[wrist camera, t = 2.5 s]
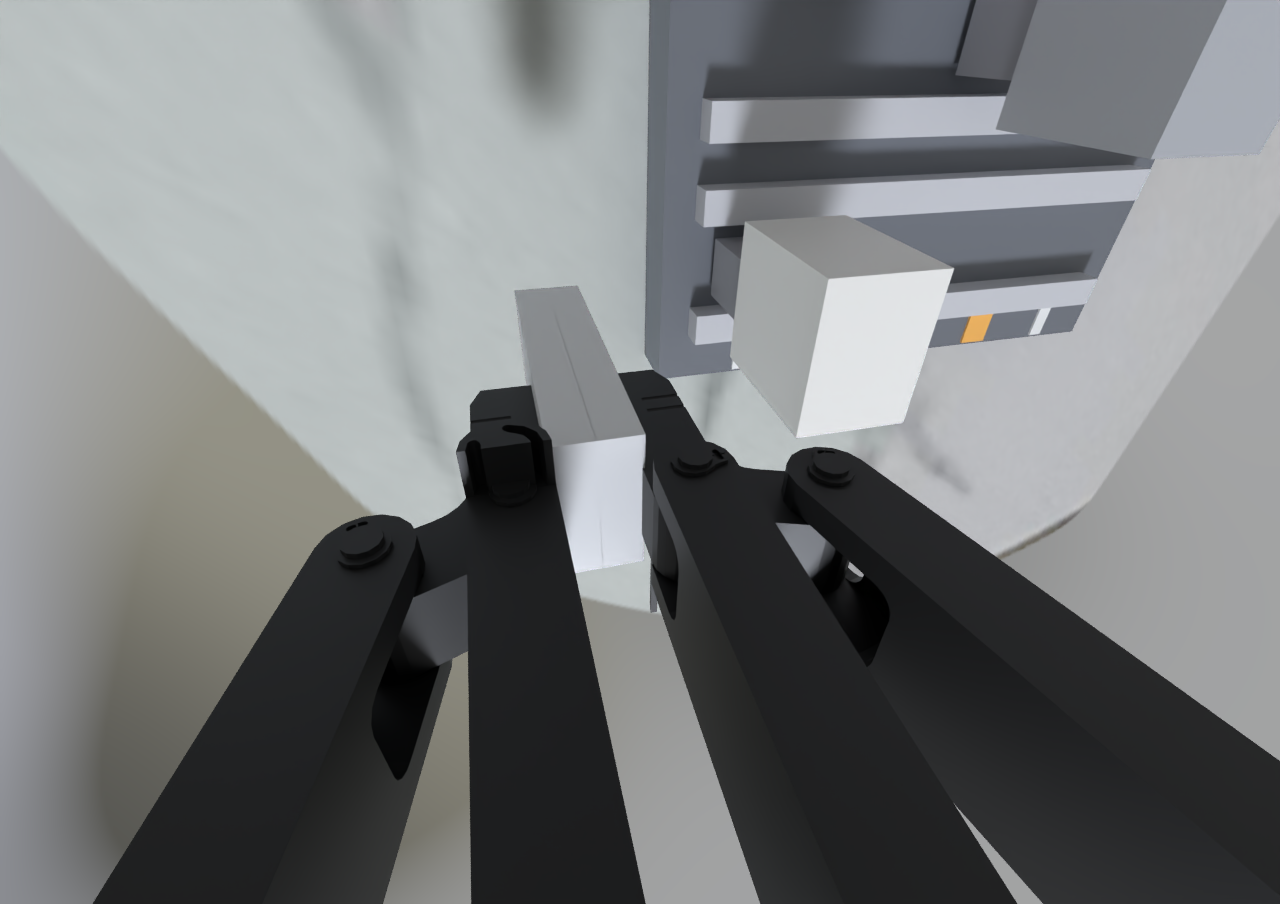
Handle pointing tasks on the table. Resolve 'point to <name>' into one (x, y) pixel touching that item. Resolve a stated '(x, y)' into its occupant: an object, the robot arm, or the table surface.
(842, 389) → the block
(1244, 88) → the pale grey upright box
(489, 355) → the table surface
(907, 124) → the console
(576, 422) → the robot arm
